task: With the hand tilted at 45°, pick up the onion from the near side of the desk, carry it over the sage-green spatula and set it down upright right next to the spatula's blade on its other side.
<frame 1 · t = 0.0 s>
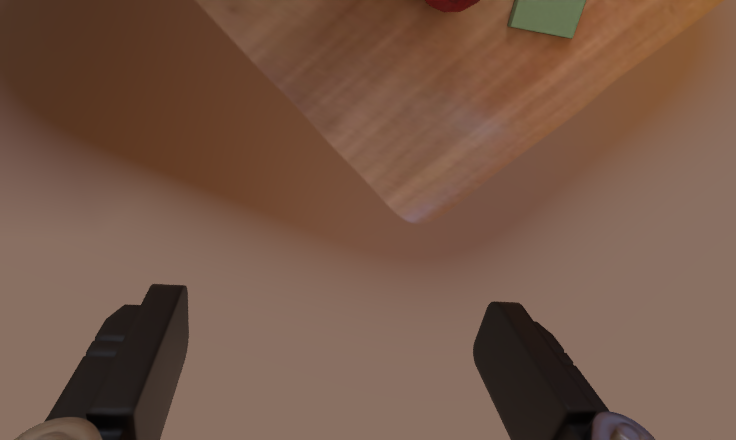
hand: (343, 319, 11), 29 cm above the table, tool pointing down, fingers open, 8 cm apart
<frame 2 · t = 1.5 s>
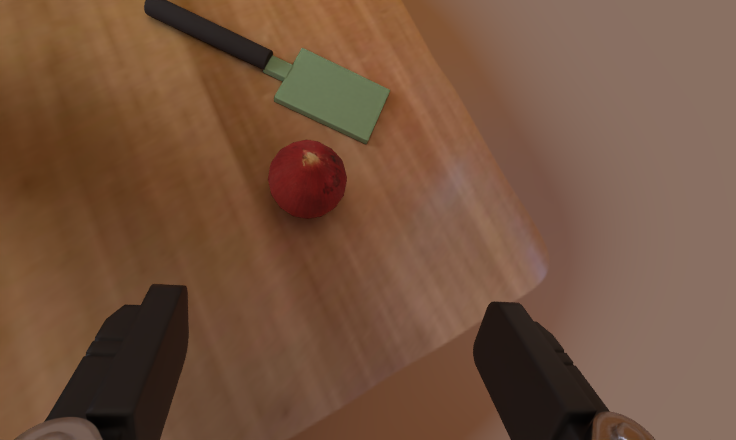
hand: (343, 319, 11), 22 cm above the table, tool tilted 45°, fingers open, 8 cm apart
spatula: (267, 66, 38), on the table
onion: (304, 197, 36), on the table
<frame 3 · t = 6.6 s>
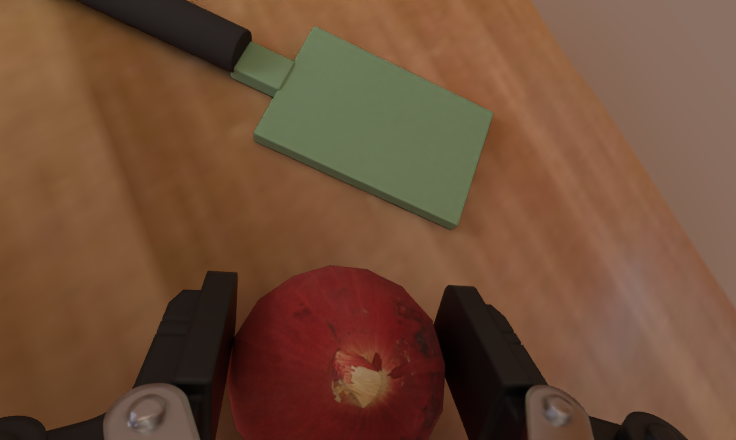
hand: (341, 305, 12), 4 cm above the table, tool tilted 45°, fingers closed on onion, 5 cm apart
spatula: (241, 65, 18), on the table
onion: (321, 366, 15), on the table, touching gripper
when the fingers open (4 cm above the table, at t = 15.3 s): onion stays where it is, on the table.
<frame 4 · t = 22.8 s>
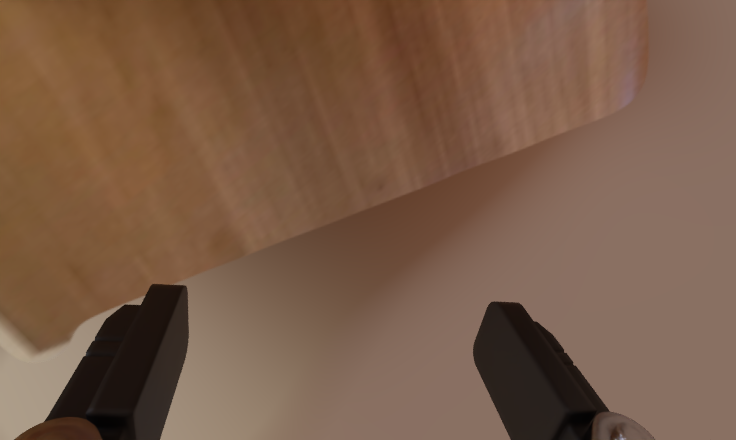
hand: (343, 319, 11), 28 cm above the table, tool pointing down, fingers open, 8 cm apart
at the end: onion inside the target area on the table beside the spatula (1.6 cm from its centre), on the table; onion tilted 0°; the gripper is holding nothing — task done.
